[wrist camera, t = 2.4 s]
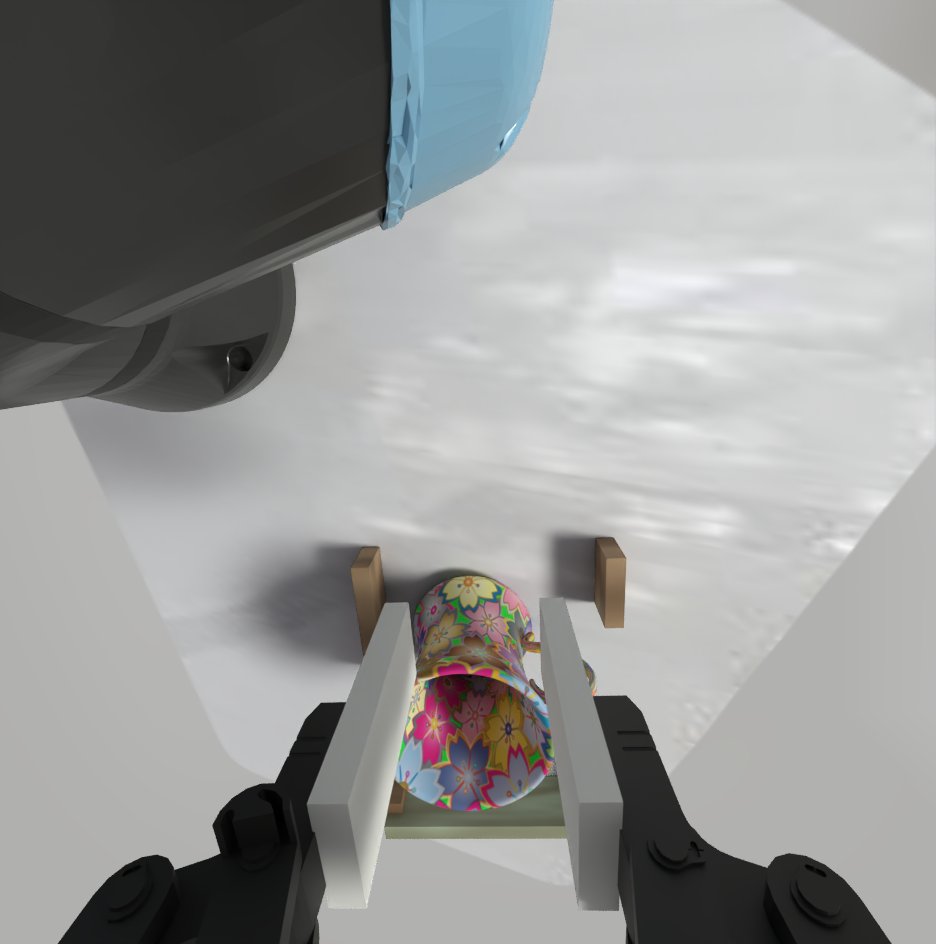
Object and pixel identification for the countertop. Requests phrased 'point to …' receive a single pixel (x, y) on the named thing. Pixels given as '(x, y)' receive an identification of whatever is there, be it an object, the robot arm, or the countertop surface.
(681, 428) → the countertop surface
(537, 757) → the mug
